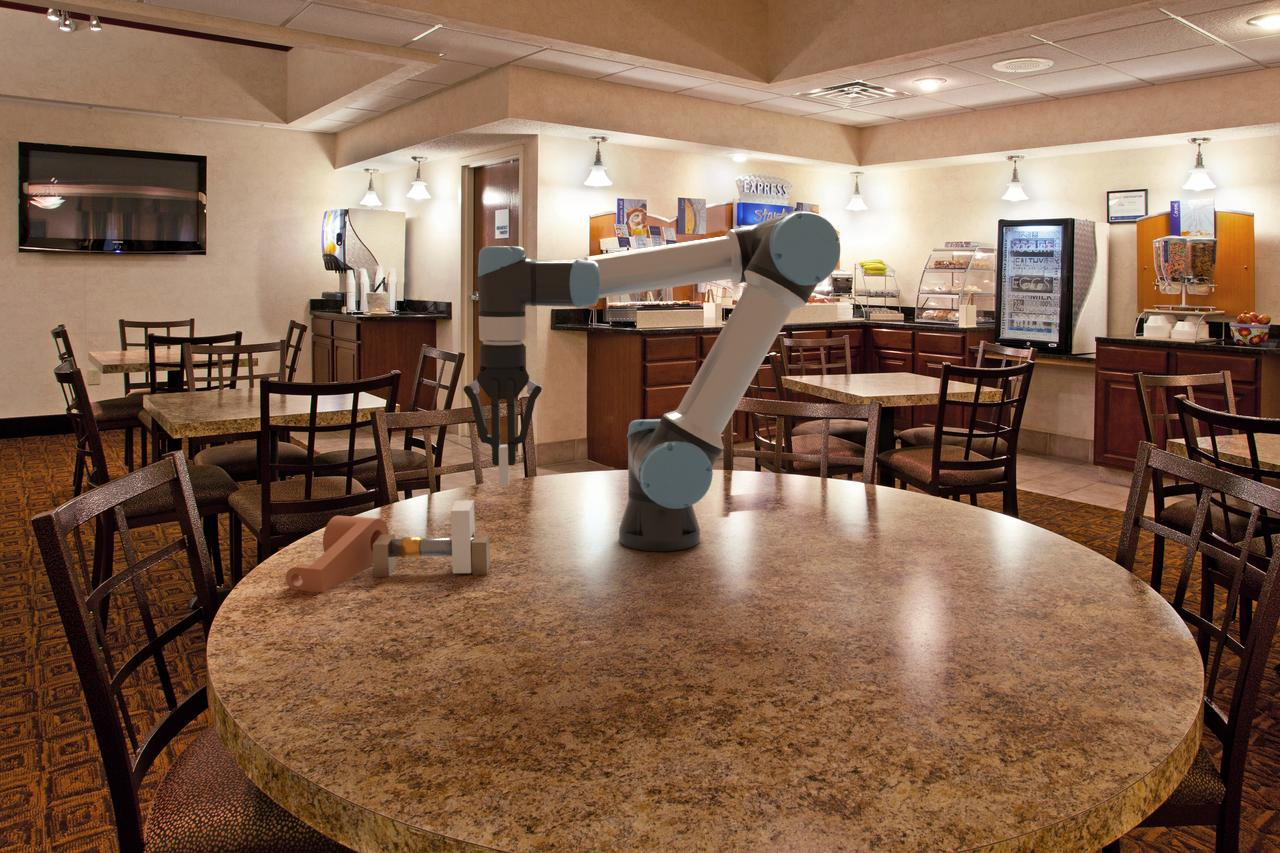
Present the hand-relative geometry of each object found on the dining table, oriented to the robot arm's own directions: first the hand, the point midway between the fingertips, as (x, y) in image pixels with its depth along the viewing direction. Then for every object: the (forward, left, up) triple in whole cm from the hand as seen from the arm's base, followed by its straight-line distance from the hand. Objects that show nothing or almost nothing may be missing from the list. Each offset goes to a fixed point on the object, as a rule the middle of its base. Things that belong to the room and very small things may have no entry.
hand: (504, 484), depth 155 cm
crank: (+28, -1, -15) cm, 32 cm away
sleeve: (+7, 0, -15) cm, 16 cm away
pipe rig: (+12, 0, -15) cm, 19 cm away
